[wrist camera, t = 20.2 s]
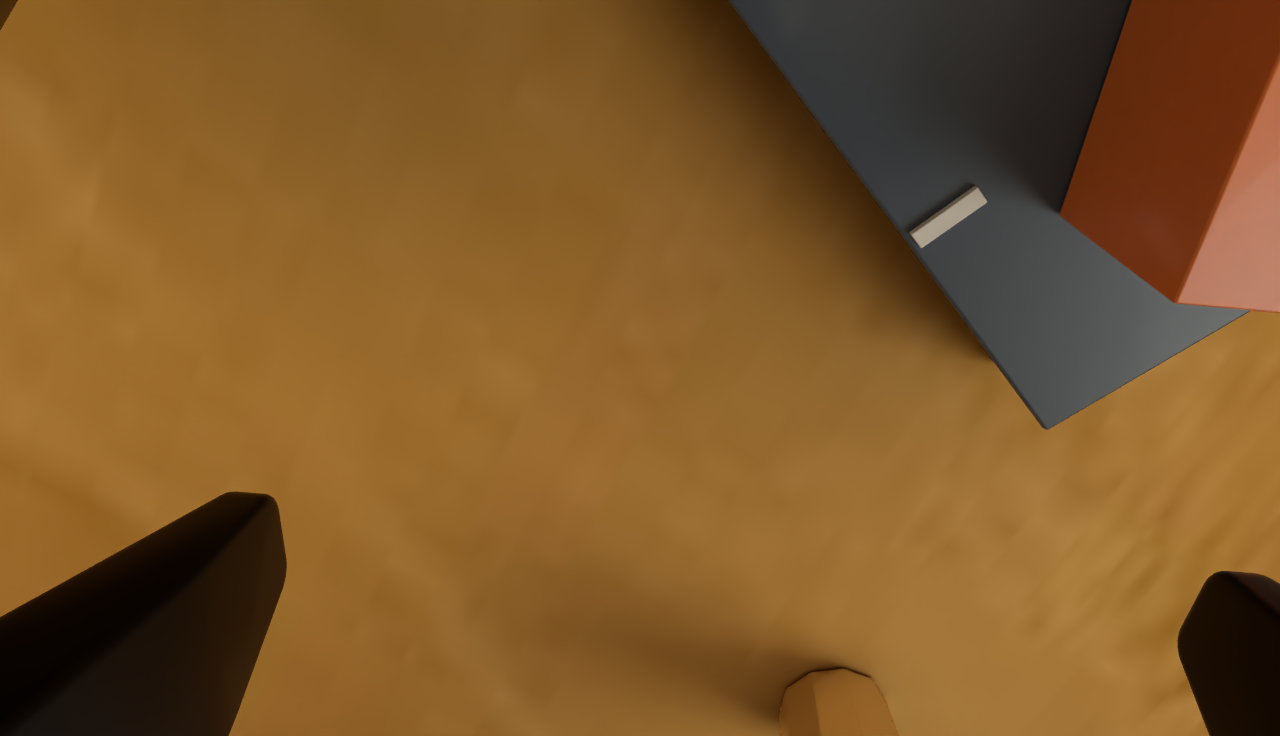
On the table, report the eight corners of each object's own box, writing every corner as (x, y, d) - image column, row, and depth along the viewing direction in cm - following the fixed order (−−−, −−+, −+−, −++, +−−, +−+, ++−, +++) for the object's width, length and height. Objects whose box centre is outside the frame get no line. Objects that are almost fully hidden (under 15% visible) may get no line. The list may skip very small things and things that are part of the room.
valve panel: (654, -100, 16) (652, -102, 13) (1161, -589, 13) (1300, -728, 10) (996, 365, 21) (1048, 436, 18) (1434, 91, 17) (1583, 125, 15)
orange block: (1153, 225, 16) (1306, 322, 12) (1057, 216, 16) (1181, 311, 12) (1287, -115, 13) (1538, -127, 9) (1172, -127, 13) (1380, -143, 9)
